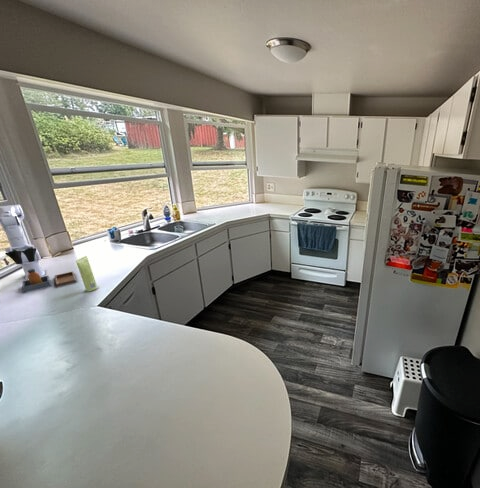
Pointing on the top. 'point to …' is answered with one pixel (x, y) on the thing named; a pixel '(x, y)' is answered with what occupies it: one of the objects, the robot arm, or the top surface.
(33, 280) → the bottle
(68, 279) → the tray
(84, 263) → the tube
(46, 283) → the bin
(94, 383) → the top surface
